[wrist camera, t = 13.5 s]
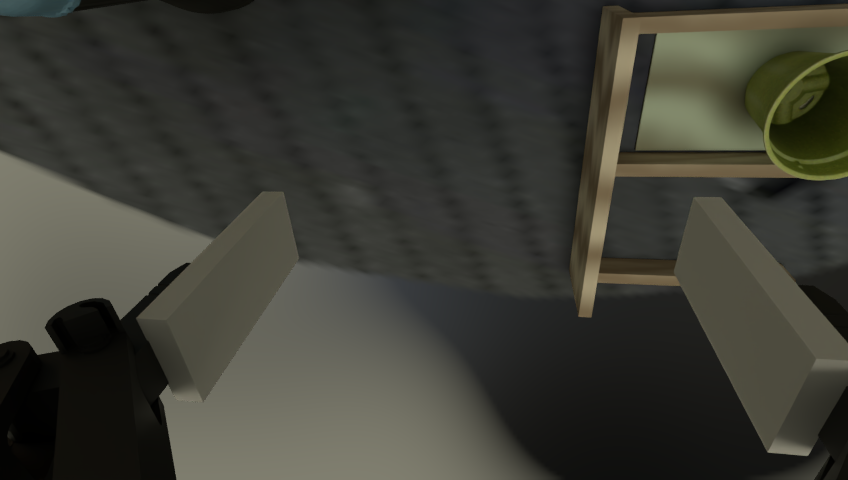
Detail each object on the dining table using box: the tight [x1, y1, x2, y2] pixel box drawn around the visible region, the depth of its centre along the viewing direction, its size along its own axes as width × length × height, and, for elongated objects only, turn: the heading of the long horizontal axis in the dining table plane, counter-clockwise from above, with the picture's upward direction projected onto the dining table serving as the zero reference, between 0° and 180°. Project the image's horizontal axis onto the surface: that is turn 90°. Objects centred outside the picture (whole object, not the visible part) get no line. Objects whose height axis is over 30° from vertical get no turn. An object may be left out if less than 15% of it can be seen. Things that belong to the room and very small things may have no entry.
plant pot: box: [745, 50, 848, 180], centre depth 36 cm, size 9×9×9 cm
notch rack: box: [569, 4, 848, 317], centre depth 41 cm, size 27×21×8 cm
